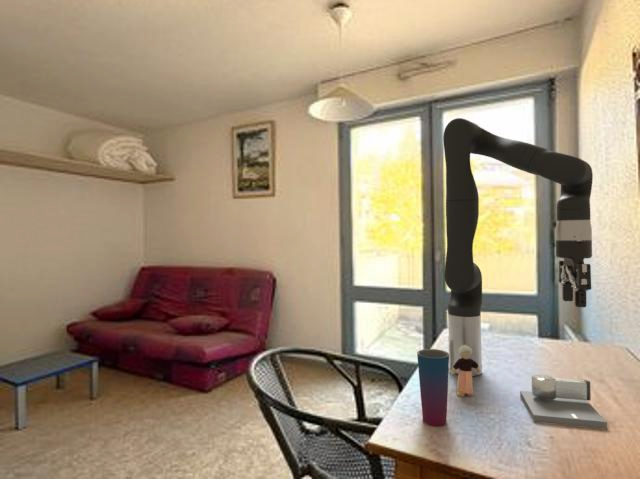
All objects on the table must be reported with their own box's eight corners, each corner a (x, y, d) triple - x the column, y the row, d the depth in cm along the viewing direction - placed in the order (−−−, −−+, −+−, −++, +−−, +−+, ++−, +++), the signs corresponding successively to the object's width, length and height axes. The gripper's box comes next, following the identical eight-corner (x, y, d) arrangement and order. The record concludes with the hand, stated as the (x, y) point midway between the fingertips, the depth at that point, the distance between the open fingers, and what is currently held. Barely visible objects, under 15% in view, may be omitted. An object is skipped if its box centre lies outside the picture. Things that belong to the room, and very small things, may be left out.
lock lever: (534, 398, 89) (534, 381, 89) (529, 390, 94) (529, 373, 94) (594, 403, 86) (594, 385, 86) (586, 394, 91) (585, 377, 91)
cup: (426, 411, 89) (424, 347, 89) (455, 419, 85) (453, 352, 85) (413, 422, 84) (411, 354, 84) (443, 431, 80) (441, 360, 80)
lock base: (533, 421, 83) (533, 414, 83) (520, 396, 96) (520, 390, 96) (608, 429, 79) (608, 421, 79) (583, 402, 92) (583, 395, 92)
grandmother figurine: (458, 399, 96) (457, 348, 96) (449, 393, 100) (448, 344, 100) (484, 395, 98) (483, 345, 98) (474, 389, 102) (473, 341, 102)
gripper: (547, 238, 103) (548, 298, 103) (566, 239, 89) (566, 308, 89) (579, 238, 101) (580, 299, 101) (603, 238, 87) (604, 309, 87)
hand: (573, 303), depth 95 cm, fingers open, 8 cm apart
